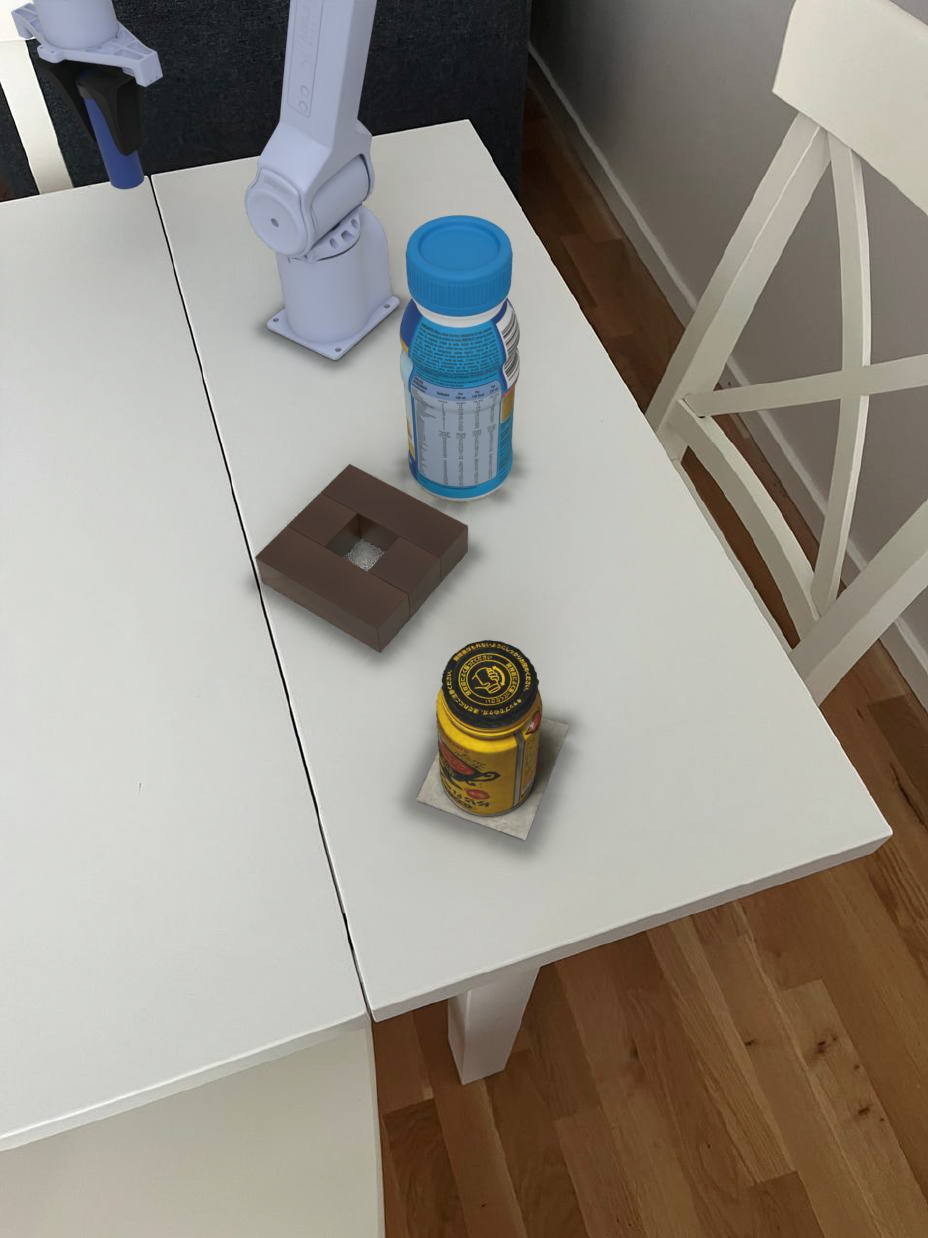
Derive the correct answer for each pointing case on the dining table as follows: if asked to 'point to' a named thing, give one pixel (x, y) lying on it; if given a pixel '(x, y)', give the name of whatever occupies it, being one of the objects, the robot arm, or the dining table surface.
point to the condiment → (492, 739)
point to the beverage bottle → (459, 357)
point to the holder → (345, 592)
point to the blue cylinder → (111, 146)
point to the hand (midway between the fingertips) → (116, 143)
